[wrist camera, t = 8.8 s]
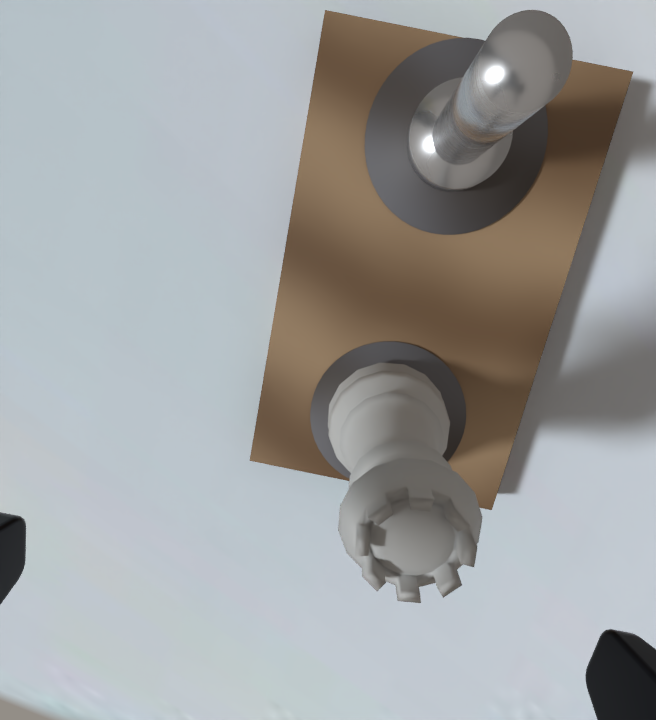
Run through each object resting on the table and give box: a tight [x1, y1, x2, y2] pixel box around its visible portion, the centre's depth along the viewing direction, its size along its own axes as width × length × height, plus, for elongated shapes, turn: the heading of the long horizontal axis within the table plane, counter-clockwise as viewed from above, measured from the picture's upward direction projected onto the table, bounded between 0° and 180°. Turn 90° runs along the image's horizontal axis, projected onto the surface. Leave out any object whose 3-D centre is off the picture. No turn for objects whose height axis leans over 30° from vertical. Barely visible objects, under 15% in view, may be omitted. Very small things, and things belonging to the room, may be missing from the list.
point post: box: [407, 10, 573, 192], centre depth 12 cm, size 3×3×6 cm
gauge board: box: [250, 10, 633, 510], centre depth 16 cm, size 16×10×1 cm, turn 169°
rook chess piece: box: [328, 363, 482, 603], centre depth 13 cm, size 4×4×8 cm
